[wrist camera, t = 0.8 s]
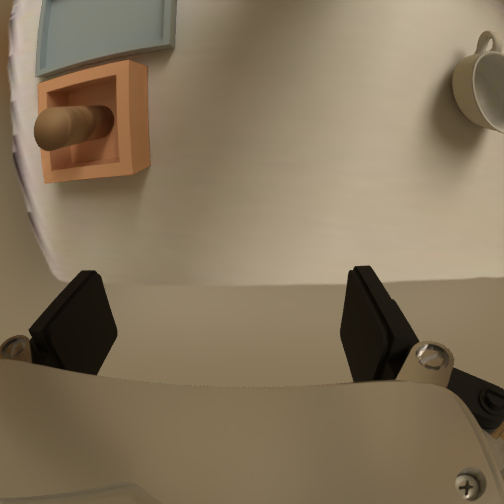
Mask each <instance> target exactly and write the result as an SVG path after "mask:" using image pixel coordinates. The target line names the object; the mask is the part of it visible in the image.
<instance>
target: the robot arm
mask: <svg viewBox="0 0 504 504" xmlns="http://www.w3.org/2000/svg"><path fill="white" fill-rule="evenodd" d="M29 332H30V334H31V336H32V338H31V339H30V340H29V338H28V337H26V336H24V335H16V336H13V337H11V338H9V339H7V340H6V341H5V342H3V343H2V345H1V346H0V504H504V390H503V389H502V388H500V387H498V386H496V385H494V384H491V383H489V382H487V381H484V380H482V379H480V378H477V377H475V376H472V375H470V374H468V373H465V372H463V371H460V370H458V369H456V368H454V367H453V365H454V356H453V354H452V352H451V351H450V350H449V349H448V348H447V347H446V346H444V345H442V344H440V343H438V342H434V341H422V342H419V340H418V338H417V337H416V335H415V333H414V331H413V330H412V328H411V326H410V324H409V323H408V321H407V319H406V318H405V317H404V315H403V313H402V311H401V310H400V308H399V306H398V305H397V303H396V302H395V301H394V300H393V299H391V297H390V296H389V294H388V292H387V291H386V290H385V288H384V286H383V285H382V283H381V281H380V280H379V278H378V277H377V275H376V274H375V272H374V271H373V269H372V268H371V266H355V267H354V269H353V270H350V271H349V273H348V280H347V288H346V296H345V302H344V309H343V316H342V322H341V328H340V337H341V341H342V344H343V348H344V351H345V354H346V357H347V361H348V364H349V367H350V371H351V374H352V378H353V381H354V382H352V383H336V384H322V385H307V386H285V387H213V386H192V385H176V384H162V383H152V382H143V381H134V380H126V379H117V378H111V377H104V376H97V373H98V371H99V370H100V368H101V366H102V364H103V362H104V360H105V358H106V356H107V355H108V353H109V351H110V349H111V347H112V345H113V343H114V342H115V340H116V338H117V327H116V324H115V321H114V318H113V315H112V312H111V309H110V306H109V302H108V299H107V296H106V293H105V289H104V285H103V282H102V278H101V276H100V275H99V274H97V272H96V271H95V270H82V271H81V272H80V273H79V274H78V275H77V276H76V277H75V278H74V279H73V280H72V281H71V282H70V283H69V284H68V285H67V287H66V288H65V289H64V290H63V291H62V292H61V293H60V294H59V295H58V296H57V298H56V299H55V300H54V301H53V302H52V303H51V304H50V305H49V306H48V308H47V309H46V310H45V311H44V312H43V313H42V315H41V316H40V317H39V318H38V319H37V320H36V321H35V323H34V324H33V325H32V326H31V328H30V329H29Z"/></svg>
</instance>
